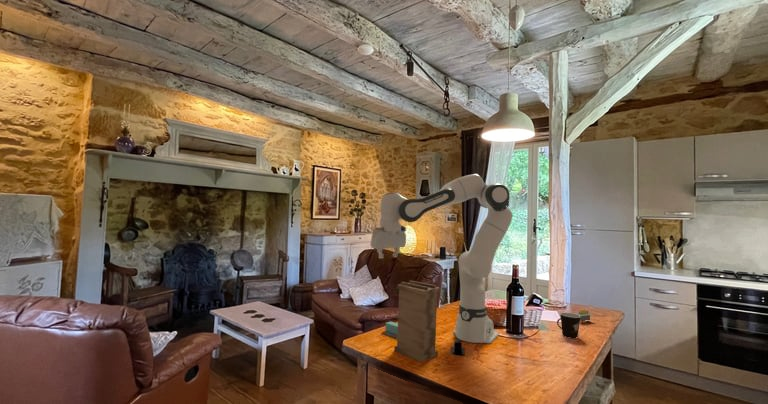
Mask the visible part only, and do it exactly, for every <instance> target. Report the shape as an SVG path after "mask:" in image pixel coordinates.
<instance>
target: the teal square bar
mask: <svg viewBox="0 0 768 404" xmlns="http://www.w3.org/2000/svg"><path fill="white" fill-rule="evenodd" d="M384 329H385V330H384V331H389V332H391V333H394V334H397V335H398V322H397V323H396V322H394V321H389V322H388V321H387V322H385V328H384Z"/></svg>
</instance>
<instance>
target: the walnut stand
mask: <svg viewBox="0 0 768 404" xmlns="http://www.w3.org/2000/svg"><path fill="white" fill-rule="evenodd" d="M396 289H398V311H397V313H398V315H397V324H398V335H397V339H396V340H397V341H396V345H395V346H394V350H393V352H395V353H398V354H399V355H403V356H404V357H405V356H406V357H408V358H410V359H413V360H416V361H417V362H421V363H423V362H426V361H428V360H430V359H433V358H435V357H437V356H438V355H439V354H438V352H439V351H438V349H437V348H436V339H437V337H436V336H437V309H438V308H437V305H438V304H437V303H438V293H440V290H441V289H440V287H439V286H437V285H434V284H430V283H425V282H419V281H415V280H409V282H405V281H400V284H399V283H398V284H397V285H396Z"/></svg>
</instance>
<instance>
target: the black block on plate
mask: <svg viewBox="0 0 768 404" xmlns="http://www.w3.org/2000/svg"><path fill="white" fill-rule="evenodd" d="M462 342H463V340H460V339H458V338H456V339H454V342H453V343H454V345H451V346H450V355H451V356H452V355H453V356H458V357H466V351H465V347H462V346H463V343H462Z"/></svg>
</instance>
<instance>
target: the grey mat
mask: <svg viewBox="0 0 768 404" xmlns="http://www.w3.org/2000/svg"><path fill="white" fill-rule="evenodd" d="M381 334H383V335H386V336H389V337H391V338H394V339H396V340H397V334H394V333H391V332H389V331H386V330H384V331H382V332H381Z"/></svg>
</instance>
